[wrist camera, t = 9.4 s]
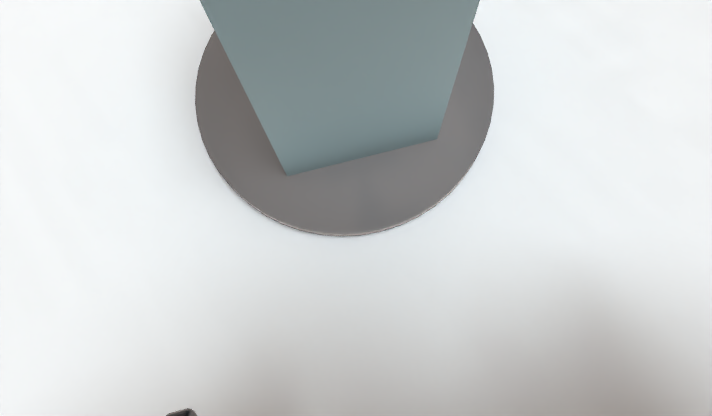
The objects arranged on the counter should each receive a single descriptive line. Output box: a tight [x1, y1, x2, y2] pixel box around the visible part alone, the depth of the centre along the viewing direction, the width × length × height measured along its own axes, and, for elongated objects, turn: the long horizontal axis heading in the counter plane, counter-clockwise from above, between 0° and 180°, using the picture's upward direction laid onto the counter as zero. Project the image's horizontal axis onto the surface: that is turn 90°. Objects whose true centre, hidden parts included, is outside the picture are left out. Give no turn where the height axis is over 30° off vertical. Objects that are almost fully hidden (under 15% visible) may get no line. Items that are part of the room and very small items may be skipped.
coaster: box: [195, 24, 494, 236], centre depth 19 cm, size 10×10×1 cm
